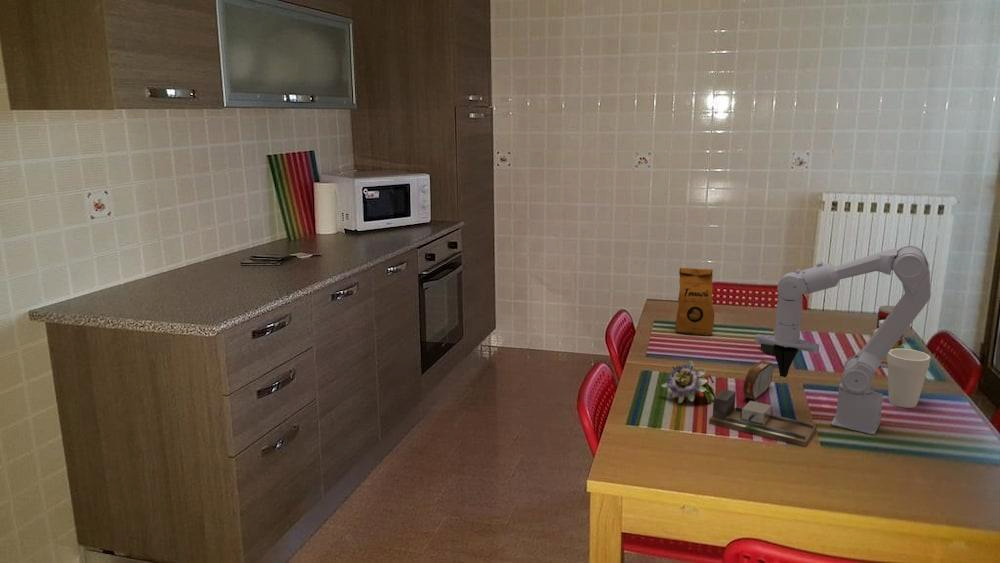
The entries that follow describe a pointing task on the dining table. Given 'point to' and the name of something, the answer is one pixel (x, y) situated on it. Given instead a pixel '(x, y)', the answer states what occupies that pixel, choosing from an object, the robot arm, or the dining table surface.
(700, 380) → the passion flower
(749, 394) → the tin
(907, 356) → the foam cup
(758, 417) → the block
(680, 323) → the coffee package
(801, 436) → the base
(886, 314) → the canned food
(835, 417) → the robot arm
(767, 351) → the smart speaker
